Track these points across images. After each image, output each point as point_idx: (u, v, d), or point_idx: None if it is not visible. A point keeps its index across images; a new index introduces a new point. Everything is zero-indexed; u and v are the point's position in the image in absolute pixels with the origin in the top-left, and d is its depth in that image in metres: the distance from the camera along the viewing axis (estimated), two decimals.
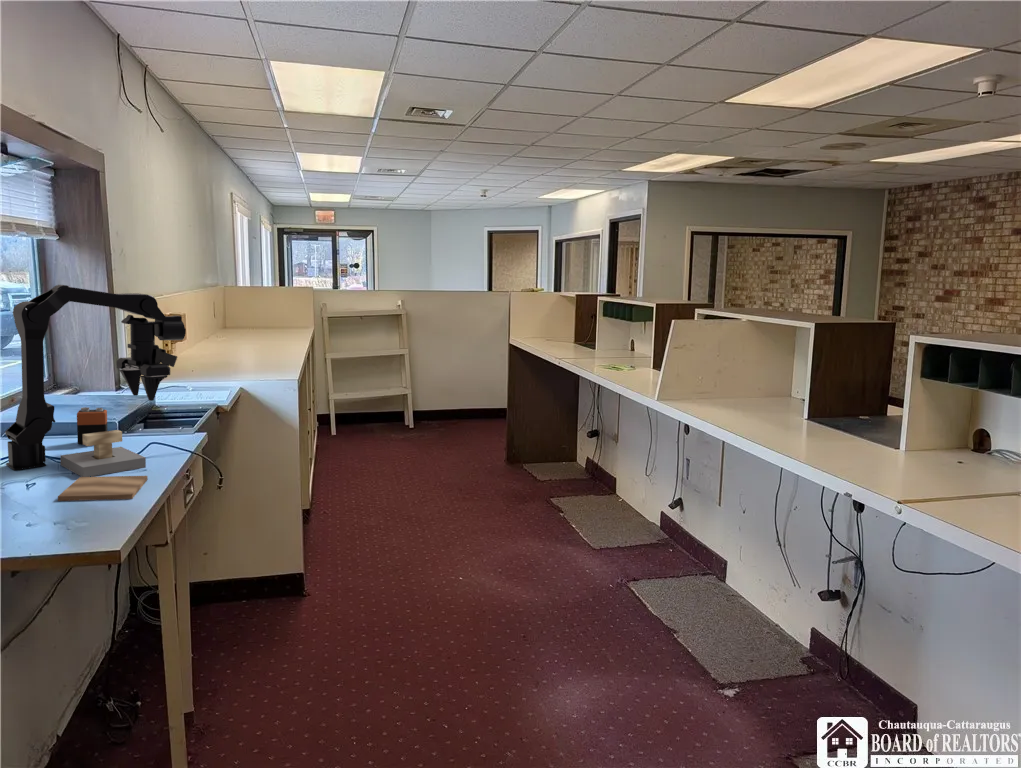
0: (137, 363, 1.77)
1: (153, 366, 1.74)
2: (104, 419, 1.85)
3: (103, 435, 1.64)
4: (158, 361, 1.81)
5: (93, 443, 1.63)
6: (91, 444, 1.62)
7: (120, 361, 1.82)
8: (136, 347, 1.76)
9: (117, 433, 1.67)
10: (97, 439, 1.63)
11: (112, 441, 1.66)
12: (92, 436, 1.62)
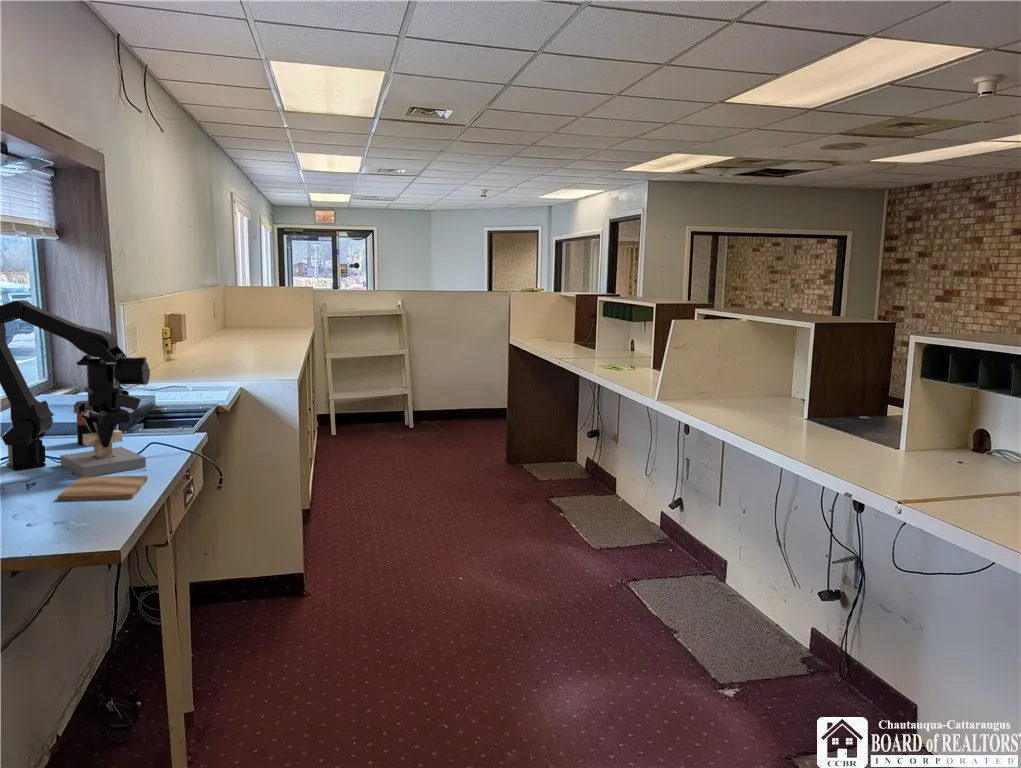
0: (94, 409, 1.61)
1: (111, 413, 1.58)
2: None
3: None
4: (118, 405, 1.65)
5: (93, 443, 1.63)
6: (91, 444, 1.62)
7: (77, 405, 1.66)
8: (93, 391, 1.60)
9: (117, 433, 1.67)
10: (97, 439, 1.63)
11: (112, 441, 1.66)
12: (92, 436, 1.62)
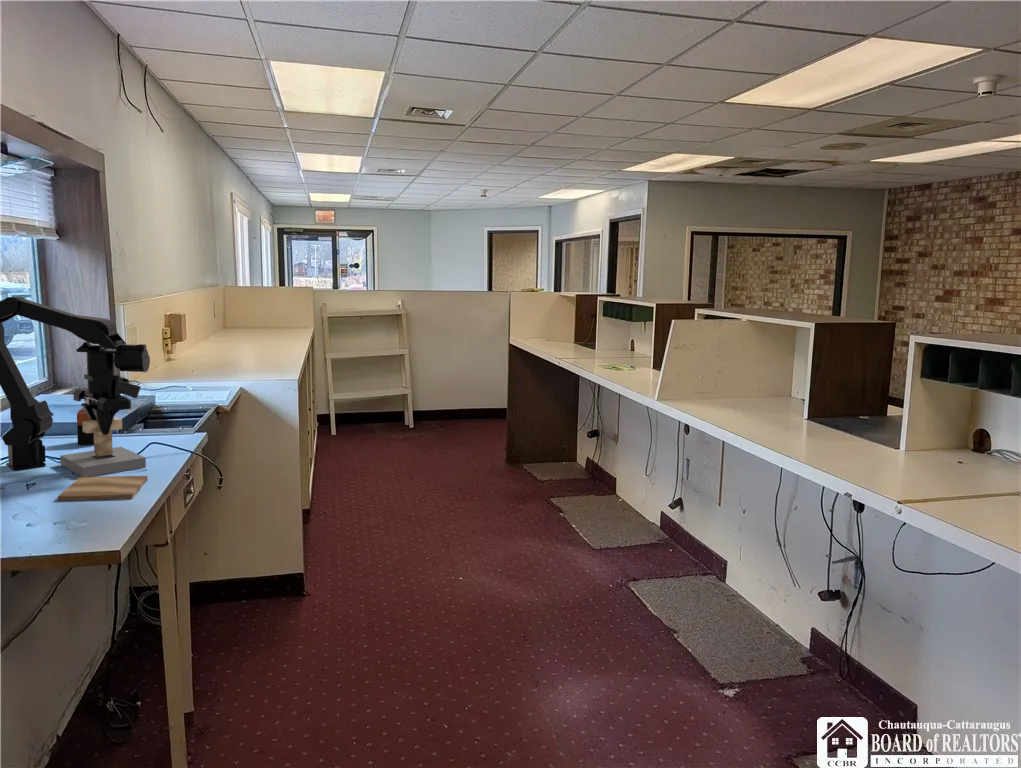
0: (94, 396, 1.60)
1: (110, 399, 1.57)
2: None
3: None
4: (118, 393, 1.64)
5: (92, 430, 1.62)
6: (91, 431, 1.62)
7: (77, 393, 1.66)
8: (93, 378, 1.60)
9: (117, 421, 1.66)
10: (97, 426, 1.63)
11: (112, 428, 1.66)
12: (92, 423, 1.62)
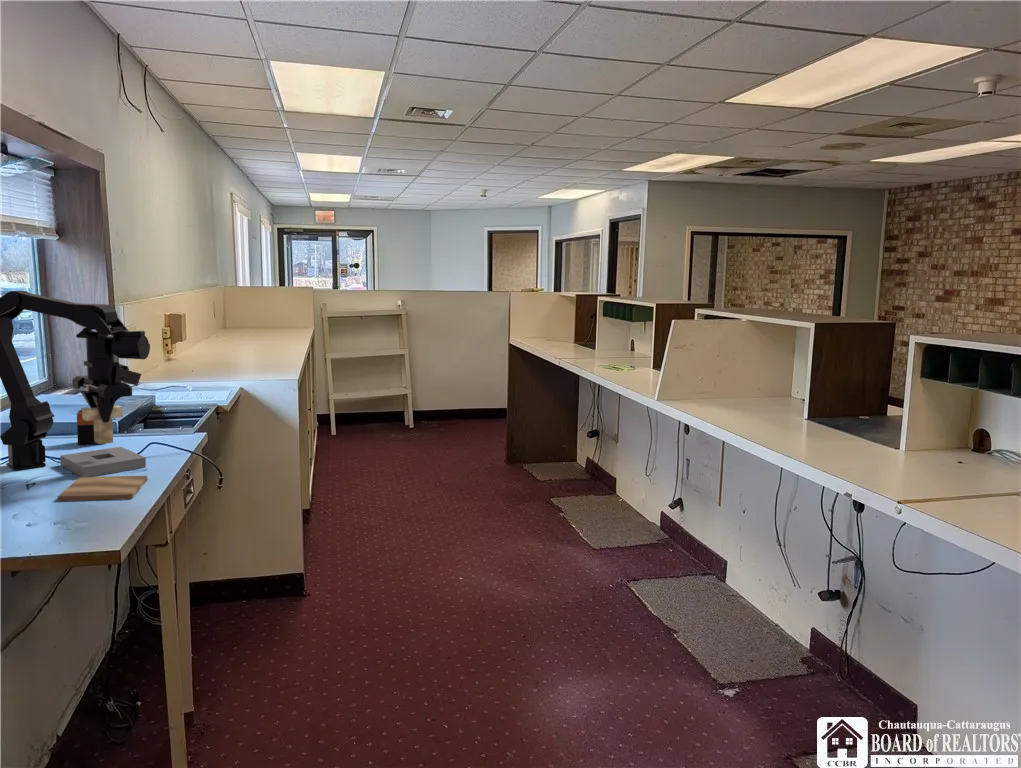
0: (94, 383, 1.57)
1: (111, 386, 1.54)
2: None
3: None
4: (119, 380, 1.61)
5: (93, 418, 1.59)
6: (91, 419, 1.59)
7: (76, 380, 1.62)
8: (93, 365, 1.57)
9: (117, 408, 1.63)
10: (97, 414, 1.60)
11: (112, 416, 1.63)
12: (92, 411, 1.59)
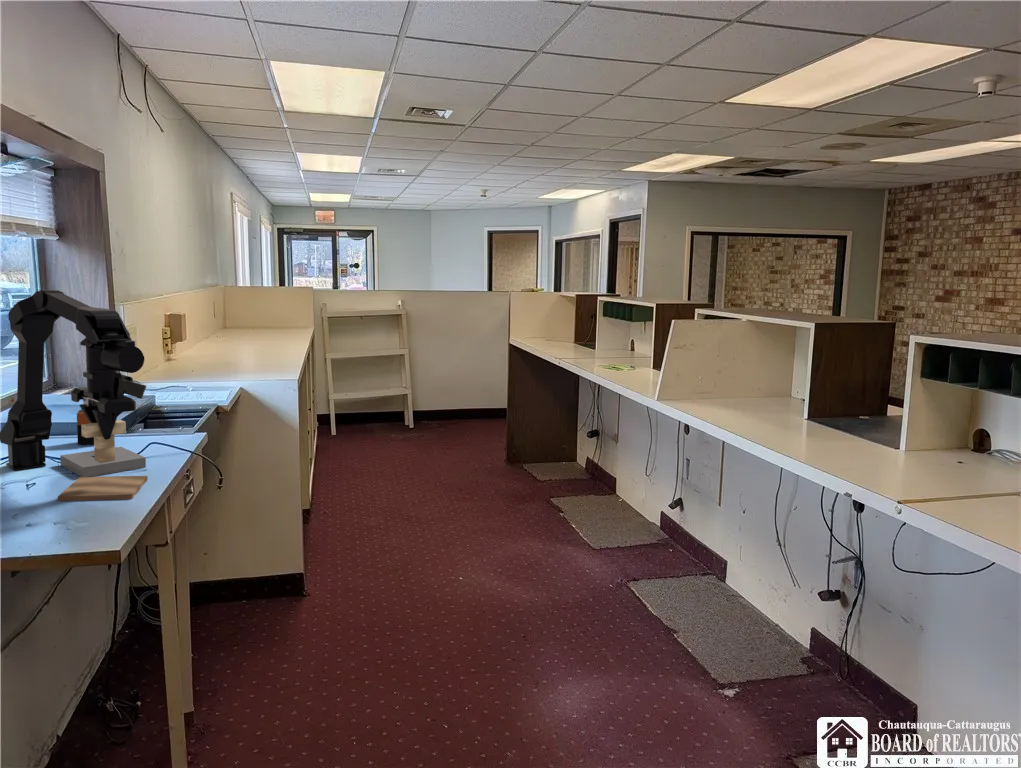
0: (94, 396, 1.43)
1: (113, 400, 1.40)
2: None
3: None
4: (121, 393, 1.47)
5: (93, 435, 1.45)
6: (91, 435, 1.45)
7: (75, 392, 1.48)
8: (93, 376, 1.42)
9: (120, 423, 1.49)
10: (98, 430, 1.46)
11: (114, 432, 1.48)
12: (92, 426, 1.45)
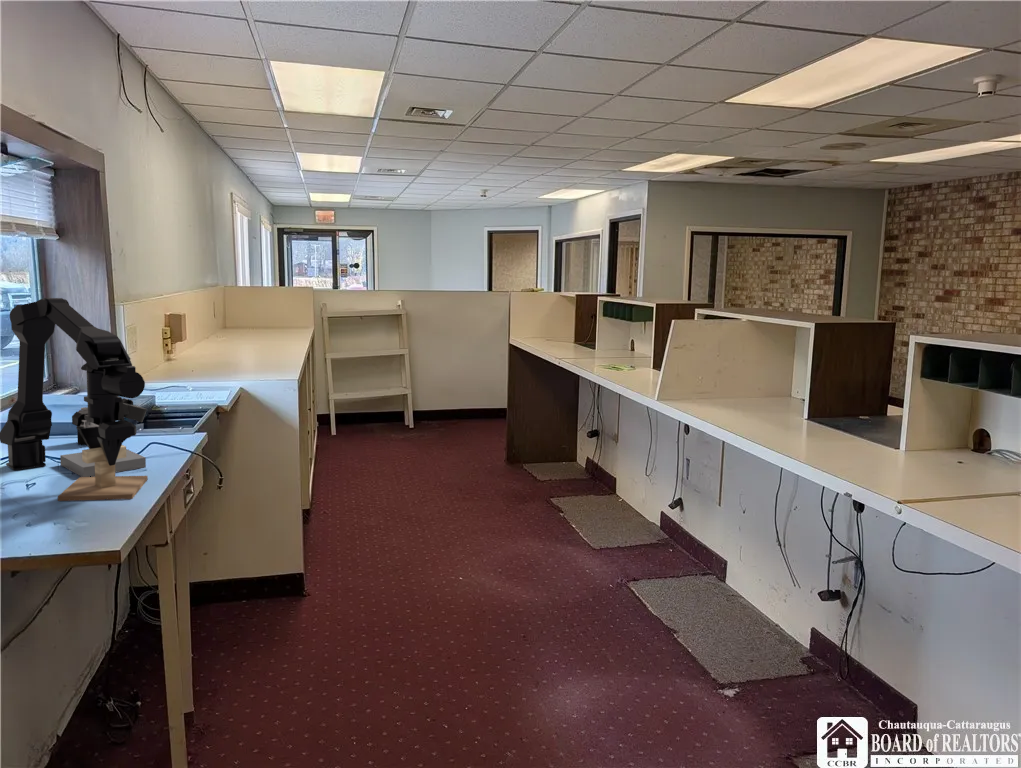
0: (95, 421, 1.44)
1: (113, 425, 1.41)
2: None
3: None
4: (122, 417, 1.48)
5: (93, 460, 1.46)
6: (92, 461, 1.45)
7: (76, 416, 1.49)
8: (93, 401, 1.43)
9: (121, 448, 1.50)
10: (99, 455, 1.46)
11: None
12: (93, 452, 1.45)
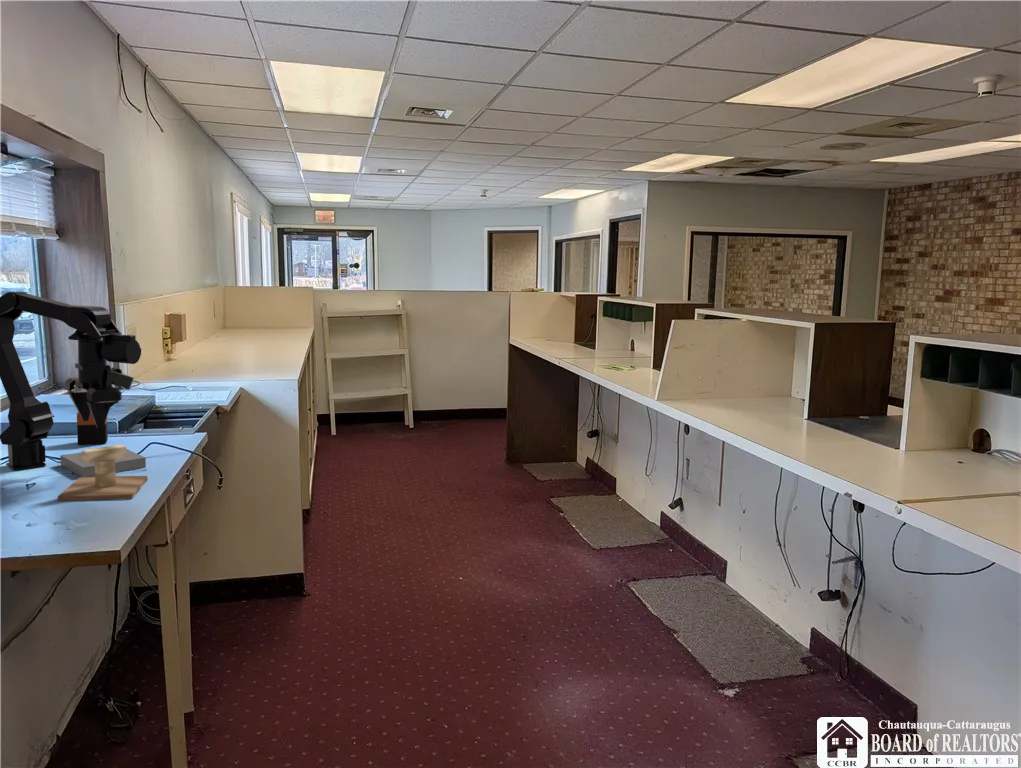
0: (84, 386, 1.55)
1: (100, 390, 1.52)
2: None
3: (105, 451, 1.47)
4: (110, 383, 1.59)
5: (93, 460, 1.46)
6: (92, 461, 1.45)
7: (68, 382, 1.61)
8: (83, 368, 1.54)
9: (121, 448, 1.50)
10: (99, 455, 1.46)
11: (115, 457, 1.49)
12: (93, 452, 1.45)
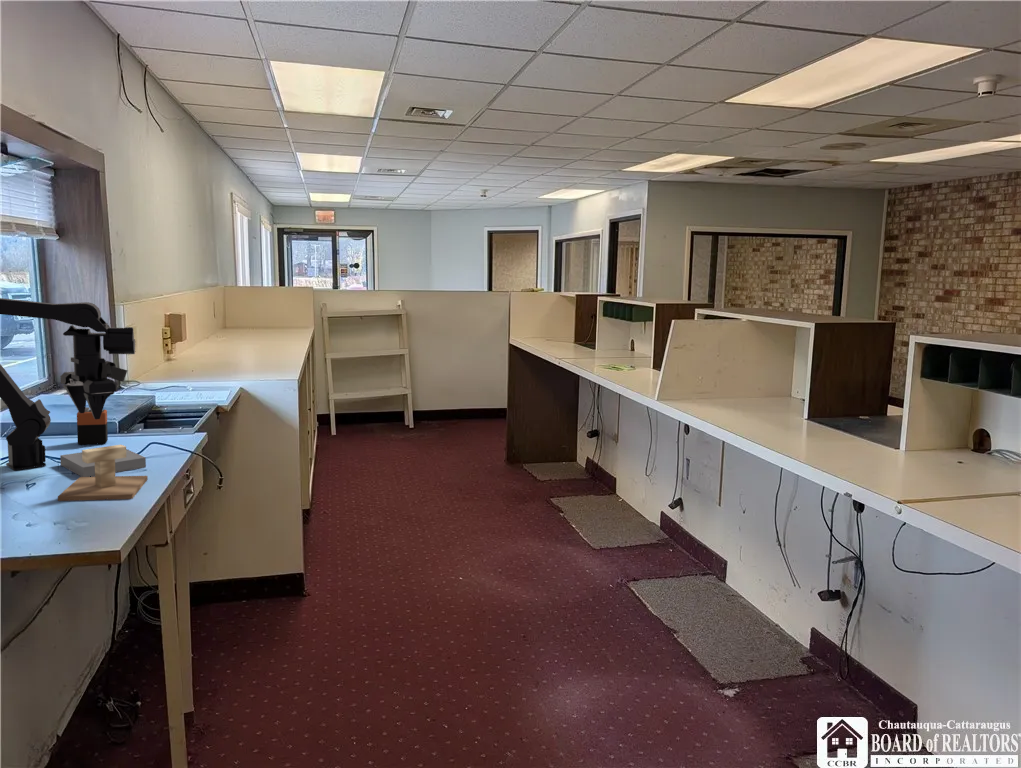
0: (81, 379, 1.62)
1: (96, 382, 1.59)
2: (104, 419, 1.85)
3: (105, 451, 1.47)
4: (105, 376, 1.66)
5: (93, 460, 1.46)
6: (92, 461, 1.45)
7: (64, 376, 1.67)
8: (79, 361, 1.61)
9: (121, 448, 1.50)
10: (99, 455, 1.46)
11: (115, 457, 1.49)
12: (93, 452, 1.45)
